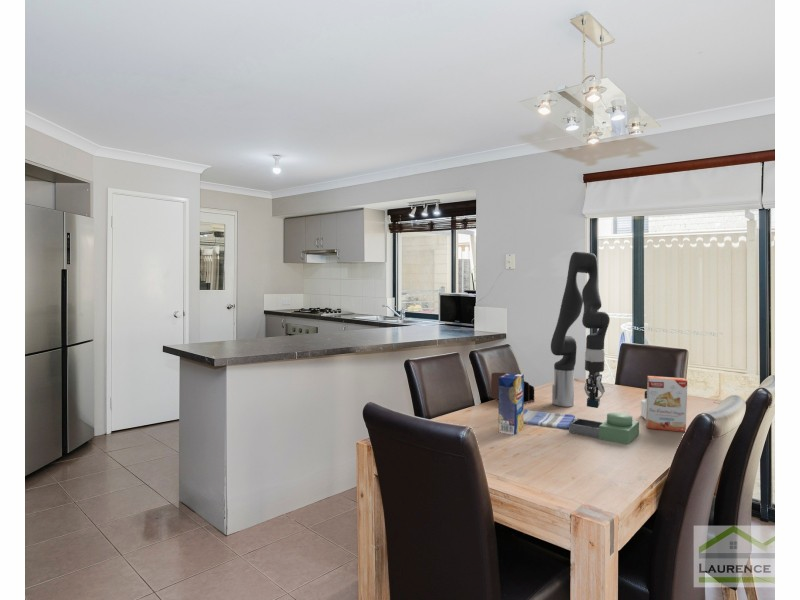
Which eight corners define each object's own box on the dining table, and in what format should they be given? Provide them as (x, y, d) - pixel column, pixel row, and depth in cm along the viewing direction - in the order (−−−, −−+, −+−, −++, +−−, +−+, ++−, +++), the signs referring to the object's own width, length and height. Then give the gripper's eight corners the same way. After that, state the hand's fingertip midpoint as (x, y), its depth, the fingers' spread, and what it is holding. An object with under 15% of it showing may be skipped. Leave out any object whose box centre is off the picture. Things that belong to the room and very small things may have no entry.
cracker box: (647, 429, 206) (648, 377, 205) (645, 425, 212) (646, 375, 211) (686, 432, 201) (687, 380, 200) (684, 428, 207) (685, 377, 206)
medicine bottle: (663, 420, 218) (663, 393, 217) (645, 419, 219) (645, 392, 219) (658, 416, 225) (658, 389, 224) (640, 415, 226) (641, 388, 226)
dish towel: (523, 413, 232) (523, 407, 231) (576, 420, 220) (576, 414, 220) (511, 423, 216) (511, 416, 216) (568, 431, 205) (568, 424, 205)
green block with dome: (597, 438, 194) (598, 417, 193) (609, 428, 206) (610, 409, 206) (628, 444, 187) (628, 422, 186) (638, 433, 199) (639, 413, 199)
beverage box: (523, 427, 208) (523, 374, 207) (515, 435, 198) (515, 379, 197) (507, 425, 211) (507, 372, 210) (498, 432, 202) (498, 377, 201)
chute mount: (569, 432, 201) (569, 423, 201) (577, 426, 209) (577, 418, 209) (599, 438, 194) (599, 429, 194) (607, 431, 202) (607, 423, 202)
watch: (602, 409, 209) (604, 382, 207) (582, 405, 213) (583, 379, 211) (604, 405, 214) (606, 379, 212) (584, 402, 217) (586, 376, 216)
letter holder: (522, 405, 245) (523, 376, 245) (490, 398, 260) (490, 371, 260) (534, 402, 252) (535, 373, 251) (502, 395, 267) (502, 368, 266)
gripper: (591, 356, 220) (589, 395, 221) (579, 360, 208) (578, 402, 209) (609, 358, 215) (607, 398, 216) (598, 362, 204) (597, 405, 205)
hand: (593, 399), depth 213 cm, fingers closed on watch, 3 cm apart
